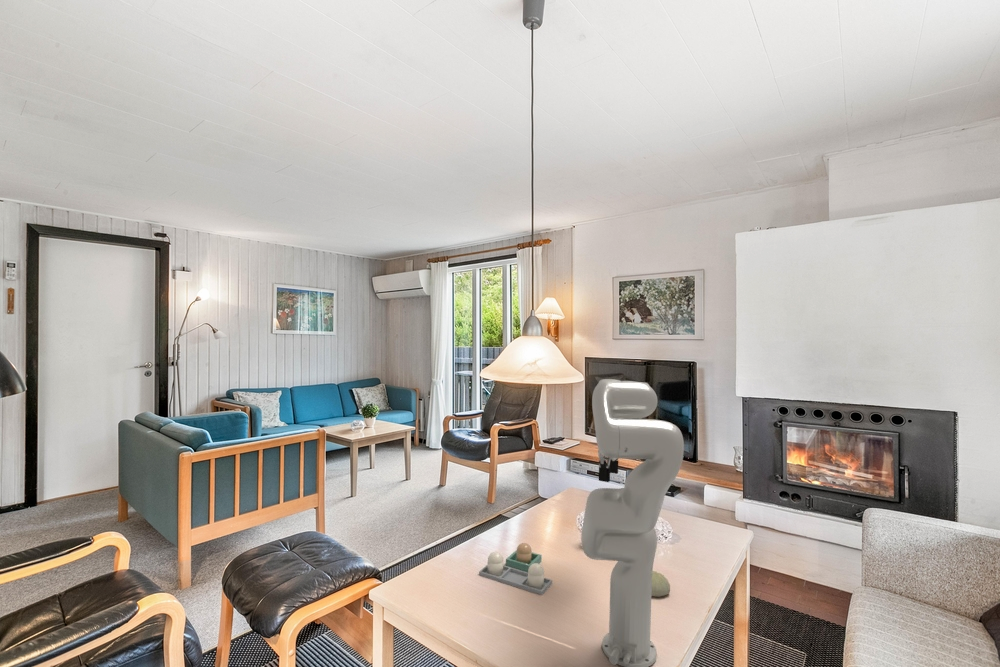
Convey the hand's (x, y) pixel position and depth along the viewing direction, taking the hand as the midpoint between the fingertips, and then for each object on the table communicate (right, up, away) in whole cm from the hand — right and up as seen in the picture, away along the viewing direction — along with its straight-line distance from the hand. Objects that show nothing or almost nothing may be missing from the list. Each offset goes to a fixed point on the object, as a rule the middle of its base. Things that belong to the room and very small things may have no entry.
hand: (608, 476), depth 145 cm
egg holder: (-25, -32, +10) cm, 42 cm away
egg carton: (-28, -32, 0) cm, 42 cm away
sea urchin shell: (+13, -33, -3) cm, 35 cm away
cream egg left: (-34, -31, +4) cm, 46 cm away
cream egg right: (-22, -31, -3) cm, 39 cm away
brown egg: (-25, -31, +10) cm, 41 cm away
